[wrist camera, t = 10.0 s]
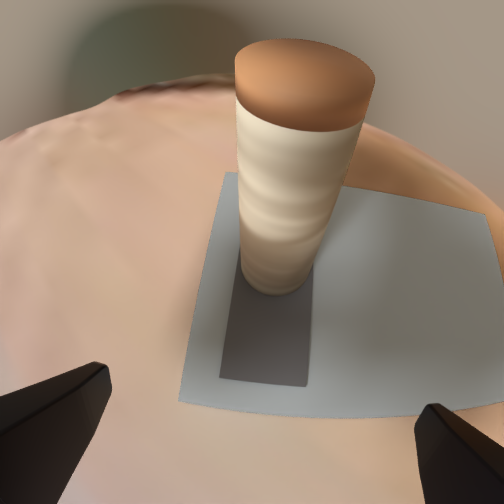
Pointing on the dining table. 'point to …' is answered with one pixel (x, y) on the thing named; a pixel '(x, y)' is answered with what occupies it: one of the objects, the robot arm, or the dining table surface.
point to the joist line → (267, 334)
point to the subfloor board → (368, 313)
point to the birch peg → (293, 152)
